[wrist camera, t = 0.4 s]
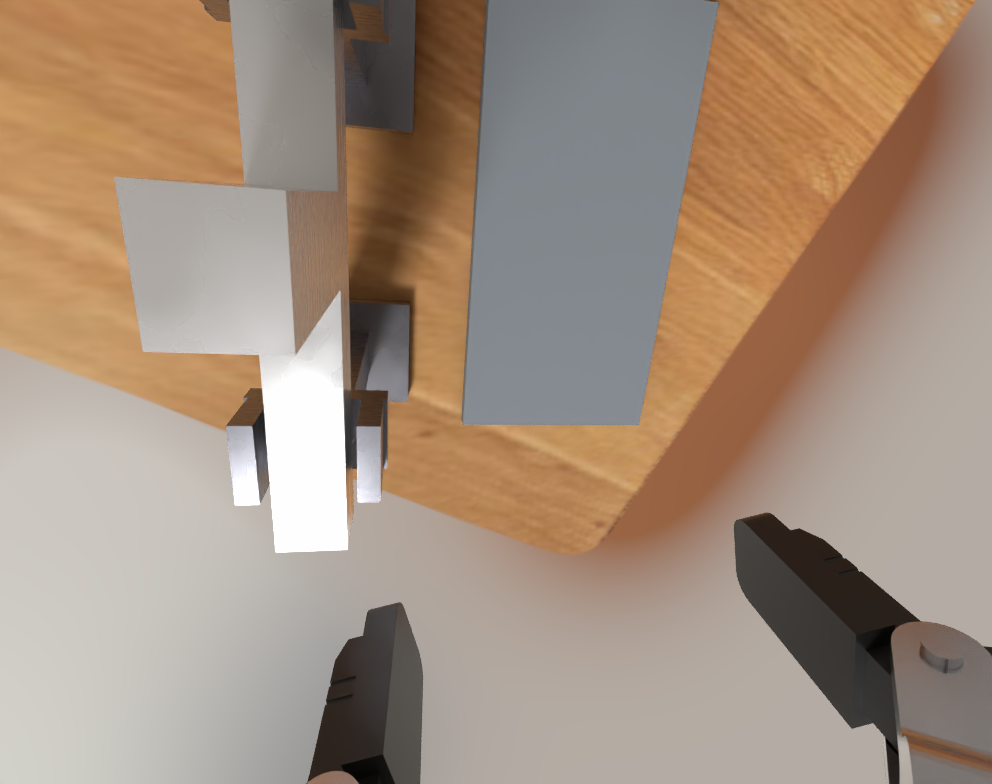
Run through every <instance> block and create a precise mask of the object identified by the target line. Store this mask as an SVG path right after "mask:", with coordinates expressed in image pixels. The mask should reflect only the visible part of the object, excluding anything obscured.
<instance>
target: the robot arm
mask: <svg viewBox="0 0 992 784" xmlns="http://www.w3.org/2000/svg"><path fill="white" fill-rule="evenodd" d="M734 538H735V556H736V572H737V577H738V581H739V584H740V586H741V589H742V591H743V593H744V594H745V596H746V598H747V599H748V601H749V602H750V603H751V604H752V606H753V607H754V608H755V609H756V611H757V612H758V613H759V614H760V616H761V617H762V618H763V619H764V620H765V622H766V623H767V624H768V625H769V627H770V628H771V629H772V630H773V632H774V633H775V634H776V635H777V637H778V638H779V639H780V640H781V642H782V643H783V644H784V645H785V647H786V648H787V649H788V650H789V652H790V653H791V654H792V655H793V656H794V658H795V659H796V660H797V661H798V663H799V664H800V665H801V666H802V668H803V669H804V670H805V671H806V672H807V674H808V675H809V676H810V678H811V679H812V680H813V681H814V683H815V684H816V685H817V686H818V687H819V689H820V690H821V691H822V692H823V694H824V695H825V696H826V697H827V699H828V700H829V701H830V702H831V703H832V705H833V706H834V707H835V709H836V710H837V711H838V712H839V714H840V715H841V716H842V717H843V718H844V720H845V721H846V722H847V723H848V725H849V726H850V727H851V728H856V727H860V726H863V725H867V724H871V723H874V724H875V726H876V727H877V728H878V729H879V730H880V731H881V733H882V734H883V735H884V738H883V753H884V765H885V777H886V784H992V647H983V646H982V645H981V644H980V643H978V642H977V641H976V640H974V639H973V638H971V637H970V636H968V635H966V634H964V633H962V632H960V631H958V630H956V629H954V628H951V627H948V626H945V625H941V624H937V623H931V622H921V621H920V620H918V619H917V618H916V617H915V616H914V615H913V614H911V613H910V612H909V611H908V610H907V609H905V608H904V607H903V606H902V605H901V604H899V603H898V602H897V601H896V600H895V599H893V598H892V597H891V596H890V595H889V594H887V593H886V592H885V591H884V590H883V589H881V588H880V587H879V586H878V585H877V584H876V583H874V582H873V581H872V580H871V579H870V578H869V577H867V576H866V575H865V574H864V573H863V572H859V571H858V569H857V567H855V566H854V565H853V564H852V563H851V562H850V561H848V560H847V559H844V558H843V557H842V555H841V554H840V553H839V552H838V551H837V550H835V549H834V548H833V547H832V546H831V545H829V544H828V543H827V542H826V541H825V540H823V539H821V538H819V537H817V536H815V535H812V534H810V533H808V532H806V531H804V530H802V529H795V530H789V529H788V528H787V527H786V526H785V525H784V524H783V523H782V522H781V521H779V520H778V519H777V518H776V517H775V516H774V515H772V514H771V513H763V514H759V515H755V516H751V517H747V518H743V519H739V520H736V521H735V524H734ZM330 683H331V687H329V690H328V695H327V699H326V702H327V705H326V706H325V708H324V713H323V717H322V721H321V726H320V730H319V735H318V740H317V744H316V748H315V752H314V757H313V761H312V766H311V770H310V775H309V778H308V782H307V783H306V784H420V767H421V732H422V731H421V730H422V697H423V672H422V664H421V658H420V654H419V650H418V647H417V645H416V641H415V638H414V636H413V633H412V630H411V627H410V624H409V621H408V618H407V615H406V612H405V610H404V607H403V605H402V603H400V602H399V603H395V604H391V605H387V606H383V607H379V608H375V609H371V610H369V611H368V612H367V617H366V622H365V628H364V634H363V636H360V637H356V638H352V639H349V640H348V641H347V643H346V644H345V646H344V647H343V649H342V651H341V652H340V654H339V655H338V657H337V659H336V660H335V664H334V668H333V673H332V677H331V681H330Z"/></svg>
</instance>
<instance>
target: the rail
mask: <svg viewBox="0 0 992 784" xmlns="http://www.w3.org/2000/svg"><path fill="white" fill-rule="evenodd" d="M229 6H230V17H231V29H232V41H233V53H234V64H235V76H236V88H237V100H238V111H239V123H240V135H241V147H242V158H243V170H244V182H245V184H234V183H216V182H198V181H181V180H163V179H145V178H128V177H114V180H115V186H116V192H117V198H118V204H119V210H120V216H121V222H122V228H123V234H124V240H125V246H126V252H127V258H128V264H129V270H130V276H131V282H132V288H133V294H134V300H135V306H136V312H137V318H138V324H139V330H140V336H141V342H142V348H143V352H170V353H208V354H246V355H259V358H260V370H261V382H262V393H263V405H264V417H265V429H266V440H267V452H268V464H269V476H270V487H271V499H272V510H273V523H274V534H275V546H276V552H293V551H319V550H343V549H344V550H346V549H348V543H349V537H350V531H351V525H352V519H353V513H354V505H353V503H354V500H353V453H352V406H351V359H350V312H349V265H348V218H347V172H346V125H345V78H344V31H343V0H229Z"/></svg>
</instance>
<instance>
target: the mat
mask: <svg viewBox="0 0 992 784" xmlns="http://www.w3.org/2000/svg"><path fill="white" fill-rule="evenodd" d="M718 5H719V3H718V2H712V1H706V0H486V12H485V29H484V46H483V63H482V80H481V97H480V113H479V130H478V147H477V164H476V181H475V198H474V215H473V232H472V249H471V266H470V283H469V300H468V317H467V334H466V351H465V368H464V385H463V402H462V422H463V424H480V425H639V422H640V416H641V411H642V406H643V401H644V395H645V390H646V385H647V380H648V374H649V369H650V364H651V358H652V353H653V348H654V343H655V337H656V332H657V327H658V322H659V316H660V311H661V306H662V301H663V295H664V290H665V285H666V279H667V274H668V269H669V264H670V258H671V253H672V248H673V243H674V237H675V232H676V227H677V221H678V216H679V211H680V206H681V200H682V195H683V190H684V185H685V179H686V174H687V169H688V164H689V158H690V153H691V148H692V142H693V137H694V132H695V127H696V121H697V116H698V111H699V106H700V100H701V95H702V90H703V84H704V79H705V74H706V69H707V63H708V58H709V53H710V48H711V42H712V37H713V32H714V27H715V21H716V16H717V11H718Z"/></svg>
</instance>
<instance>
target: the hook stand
mask: <svg viewBox="0 0 992 784" xmlns="http://www.w3.org/2000/svg"><path fill="white" fill-rule="evenodd" d="M200 1H201V2H202V3H203V4H204V7H205V10H206V11H207V12H208V13H209V14H210V15H211V16H212V17H213V18H214V19H216V20H217V21H225V22H231V17H230V6H229V0H200ZM415 11H416V0H343V31H344V78H345V125H346V127H352V128H362V129H371V130H381V131H391V132H400V133H410V134H413V113H414V62H415ZM349 312H350V359H351V406H352V453H353V469H357V485H358V486H357V487H358V503H366V502H367V503H370V502H381V492H382V479H383V468H387V463H388V402H408V370H409V318H410V302H402V301H380V300H358V299H349ZM243 400H244V403H243V405H242V406H241V407H240V408H239V410H238V411H237V412H236V414H235V415H234V416H233V418H232V419H231V420H230V421H229V423H228V424H227V425H226V431H227V440H228V449H229V457H230V466H231V475H232V484H233V492H234V500H235V505H260V503H261V501H262V499H263V497H264V495H265V493H266V491H267V488H268V486H269V484H270V476H269V464H268V452H267V440H266V429H265V417H264V405H263V393H262V389H258V388H251V389H250V390H249V391H248V393H247V394H246V395H245V396H244V398H243Z"/></svg>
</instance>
